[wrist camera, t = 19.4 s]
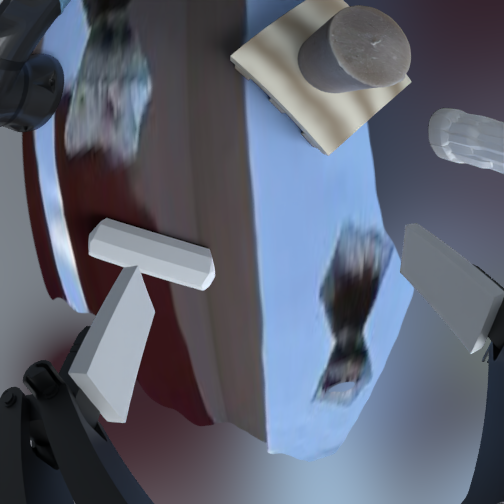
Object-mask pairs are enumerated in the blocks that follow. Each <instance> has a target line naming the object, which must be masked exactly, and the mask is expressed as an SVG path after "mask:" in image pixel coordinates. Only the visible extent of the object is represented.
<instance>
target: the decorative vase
mask: <svg viewBox="0 0 504 504" xmlns="http://www.w3.org/2000/svg"><path fill="white" fill-rule="evenodd" d="M428 126H429V128H428V136H429V143H430V145H431V147H432V149H433V150H434V152H435V153H436V154H437V155H438V156H439V157H440V158H443V159H447V160H450V161H454V162H457V163H468V164H471V165H474V166H477V167H480V168H489V169H492V170H495V171H498V172H500V173H503V174H504V122H500V121H497V120H495V119H491V118H488V117H484V116H479V115H472V114H466V113H465V112H463V111H462V110H458V109H450V108H442V109H439V110H437V111H436V112H434V113H433V115H432V116H431V118H430V120H429V125H428Z"/></svg>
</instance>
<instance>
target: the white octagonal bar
mask: <svg viewBox="0 0 504 504" xmlns="http://www.w3.org/2000/svg"><path fill="white" fill-rule="evenodd" d="M88 247H89V255H91V256H92V257H95V258H98V259H101V260H104V261H107V262H110V263H113V264H116V265H119V266H122V267H131V266H137V265H138V267H139V270H140V272H141V273H145V274H148V275H151V276H154V277H158V278H161V279H164V280H168V281H171V282H175V283H178V284H181V285H185V286H188V287H192V288H195V289H199V290H203V291H204V290H205V289H206V288H208V287H209V286H210V284H211V283H212V281H213V279H214V277H215V268H214V263H213V259H212V255H211V252H210V249H208V248H204V247H201V246H197V245H194V244H191V243H187V242H184V241H181V240H177V239H174V238H171V237H168V236H164V235H161V234H158V233H154V232H151V231H148V230H144V229H141V228H138V227H135V226H131V225H128V224H125V223H122V222H118V221H115V220H112V219H108V218H105V219H104V220H102V221H101V222H100V223H99V224H98V225H97V226H96V227H95V228H94V230H93V231H92V232H91V233H90V234H89V243H88Z"/></svg>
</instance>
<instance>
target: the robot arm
mask: <svg viewBox="0 0 504 504" xmlns="http://www.w3.org/2000/svg"><path fill="white" fill-rule="evenodd" d="M69 2H70V0H0V127H1V126H3V127H6V128H9V129H11V130H14V131H17V132H28V131H33V130H36V129H38V128H40V127H41V126H43V125H44V124H45V123H46V122H47V121H48V120H49V119H50V118H51V116H52V115H53V114H54V112H55V110H56V109H57V107H58V104H59V102H60V99H61V96H62V92H63V86H64V75H63V70H62V67H61V65H60V63H59V62H58V60H57V59H55V58H54V57H52V56H50V55H46V54H33V55H31V53H32V52H33V50H34V48H35V47H36V45H37V44H38V43H39V41H40V40H41V38H42V37H43V35H44V34H45V33H46V31H47V30H48V28H49V27H50V26H51V24H52V23H53V22H54V21H55V19H56V18H57V17H58V16H59V15H61V14H62V12H63V10H64V8H65V7H66V5H67V4H68V3H69ZM400 273H401V274H402V275H403V276H404V277H405V278H406V279H407V280H408V281H409V282H410V283H411V284H412V286H413V287H414V288H415V289H416V290H417V291H418V292H419V293H420V294H421V295H422V296H423V298H424V299H425V300H426V301H427V302H428V303H429V304H430V305H431V307H432V308H433V309H434V310H435V311H436V312H437V313H438V315H439V316H440V317H441V318H442V319H443V320H444V322H445V323H446V324H447V325H448V327H449V328H450V329H451V330H452V331H453V333H454V334H455V335H456V336H457V337H458V339H459V340H460V341H461V342H462V344H463V345H464V346H465V348H466V349H467V350H468V351H469V353H470V354H471V353H473V352H475V351H477V350H479V349H481V348H482V347H483V345H484V343H485V341H486V339H487V337H489V338H490V340H491V343H490V345H489V347H488V349H487V351H486V353H485V355H484V357H483V360H482V362H484V361H485V359H486V357H487V356H489V359H488V361H487V363H489V372H488V390H487V402H486V412H485V419H484V426H483V433H482V439H481V444H480V449H479V454H478V458H477V463H476V467H475V471H474V475H473V478H472V482H471V485H470V489H469V492H468V494H467V496H466V498H465V499H464V501H463V502H462V503H461V504H504V288H503V287H502V286H500V285H499V284H498V283H497V282H496V281H495V280H493V279H491V277H490V276H489V275H487V274H485V272H484V271H483V270H482V269H480V268H479V267H478V266H475V265H473V264H471V263H470V262H469V261H468V260H466V259H465V258H464V257H463V256H461V255H460V254H459V253H457V252H456V251H455V250H453V249H452V248H451V247H449V246H448V245H447V244H445V243H444V242H443V241H441V240H440V239H438V238H437V237H436V236H434V235H433V234H432V233H430V232H429V231H427V230H426V229H424V228H423V227H422V226H420V225H419V224H417V223H415V224H408V225H405V234H404V245H403V252H402V260H401V268H400ZM154 314H155V311H154V308H153V306H152V303H151V300H150V298H149V295H148V292H147V290H146V287H145V284H144V281H143V278H142V275H141V273H140V270H139V267H138V265H137V266H131V267H124V268H123V270H122V272H121V273H120V275H119V277H118V278H117V280H116V282H115V283H114V285H113V287H112V289H111V290H110V292H109V294H108V296H107V297H106V299H105V301H104V303H103V304H102V306H101V308H100V310H99V312H98V314H97V315H96V317H95V319H94V321H93V323H92V325H91V326H86V327H85V328H84V329H83V330H82V331H81V332H80V333H79V335H78V336H77V338H76V340H75V342H74V346H72V348H71V350H70V353H69V354H68V356H67V358H66V360H65V362H64V364H63V366H62V368H61V370H60V372H59V374H58V372H57V371H56V370H55V368H54V367H53V366H52V364H51V363H50V362H49V361H46V360H41V361H38V362H36V363H34V364H33V365H31V366H30V367H29V368H28V370H27V371H26V372H25V374H24V377H23V383H24V384H25V385H26V387H27V388H28V389H29V390H30V392H31V393H32V395H26V396H25V394H24V393H23V392H22V391H21V390H20V389H19V388H17V387H11V388H9V389H7V390H6V391H5V392H4V393H3V394H2V396H1V398H0V504H74V502H75V504H154V503H153V502H152V500H151V499H150V498H149V497H148V495H147V494H146V493H145V491H144V490H143V489H142V487H141V486H140V485H139V483H138V482H137V480H136V479H135V478H134V476H133V475H132V474H131V472H130V471H129V469H128V468H127V466H126V465H125V463H124V462H123V460H122V458H121V457H120V456H119V454H118V452H117V451H116V449H115V447H114V446H113V444H112V442H111V441H110V439H109V437H108V435H107V434H106V432H105V430H104V428H103V427H102V425H101V424H100V423H99V422H98V418H99V415H100V413H101V414H102V416H103V417H104V418H105V419H106V420H107V421H110V422H121V423H125V422H126V418H127V413H128V409H129V405H130V400H131V396H132V392H133V388H134V384H135V380H136V376H137V373H138V369H139V365H140V362H141V358H142V354H143V351H144V347H145V344H146V340H147V337H148V333H149V330H150V327H151V323H152V320H153V317H154ZM30 440H32V447H31V445H30Z"/></svg>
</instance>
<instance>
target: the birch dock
mask: <svg viewBox="0 0 504 504" xmlns="http://www.w3.org/2000/svg"><path fill="white" fill-rule="evenodd" d="M346 7H349V6H348V5H347V4H346V3H345V2H344V1H343V0H305V1H304V2H302V3H301V4H299V5H298V6H296V7H295V8H293V9H292V10H290V11H289V12H287V13H286V14H284V15H283V16H281V17H280V18H278V19H277V20H276V21H274V22H273V23H271V24H270V25H269V26H267V27H266V28H265V29H263V30H262V31H261V32H259V33H258V34H257V35H256V36H254V37H253V38H252V39H250V40H249V41H248V42H247V43H245V44H244V45H243V46H242V47H241V48H239V49H238V50H237V51H236V52H235V53H233V54H232V55H231V56H230V61H231V62H233V63H234V64H235V69H236V70H237V71H238V72H239V73H240V74H242V75H243V76H244V77H245V78H246V79H247V80H248V81H249V80H250V79H251V80H253V81H254V82H255V83H256V84H257V85H258V86H259V87H260V88H261V89H262V90H263V91H264V92H265V93H266V94H267V95H268V96H269V97H270V99H269V101H270V102H271V103H272V104H273V105H274V106H275V107H276V108H277V109H278V110H279V111H280V112H281V113H286V114H287V115H288V116H289V117H290V118H291V119H292V120H293V121H294V122H295V123H296V124H297V126H298V127H299V128H300V129H301V130H302V131H303V132H302V133H301V134H302V135H303V136H304V137H305V139H306V140H307V141H308V142H309V143H310V144H311V145H312V146H313V147H315V148H318V149H319V150H320V151H321V152H322V153H323V154H325V155H328V156H329V155H330V154H331V153H332V152H333V151H334V150H336V149H337V148H338V147H339V146H340V145H341V144H342V143H343V142H344V141H345V140H347V139H348V138H349V137H350V136H351V135H352V134H353V133H354V132H355V131H357V130H358V129H359V128H360V127H361V126H362V125H363V124H364V123H366V122H367V121H368V120H369V119H370V118H371V117H372V116H373V115H375V113H377V112H378V111H379V110H380V109H381V108H382V107H384V106H385V105H386V104H387V103H388V102H389V101H390V100H391V99H393V98H394V97H395V96H396V95H397V94H398V93H399V92H401V91H402V90H403V89H404V88H405V87H406V86H407V85H409V84H410V83H411V80H410V79H409V78H408V76H407V75H405V79H404V80H403V81H401V82H398V83H396V84H395V85H392V86H389V87H384V88H383V87H378V88H370V89H363V90H357V91H350V92H344V93H327V92H323V91H320V90H318V89H316V88H315V87H313V86H312V85H311V84H309V83H308V81H307V80H306V79H305V78H304V77H303V75H302V73H301V71H300V69H299V65H298V53H299V49H300V47H301V46H302V44H303V43H304V42H305V41H306V40H307V39H308V38H309V37H310V36H311V35H312V34H313V33H314V32H315V31H317V30H318V29H319V28H320V27H321V26H322V25H323V24H325V23H326V22H327V21H328V20H329V19H330V18H331V17H333V16H334V15H335V14H336V13H338V12H339V11H340V10H342V9H344V8H346Z"/></svg>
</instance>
